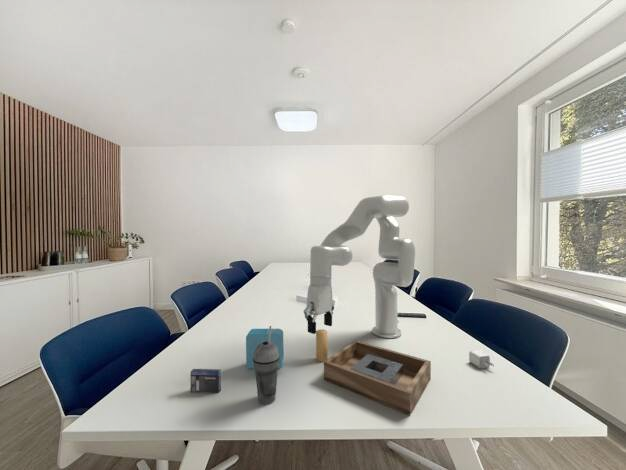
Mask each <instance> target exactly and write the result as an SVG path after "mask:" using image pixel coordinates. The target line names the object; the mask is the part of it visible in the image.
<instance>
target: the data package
mask: <svg viewBox="0 0 626 470" xmlns="http://www.w3.org/2000/svg"><path fill="white" fill-rule="evenodd" d="M268 336H269V328H252V329H250V330H249V331H248V333H247V334H246V336H245V354H246V355H245V361H246V362H245V364H246V367H247V368H248V369H249V370H255V367H254V361H253V356H254V351H255V349H256V348H257V346H258V345H259V344H261V343H262V342H266V341H268ZM270 342H272V343H274V344H275V345H276V346H277V348H278V351H279V355H280V358H279V364H278V370H279V369H280V368H282V366H283V362H284V357H285V355H284V349H285V348H284V331H283V329H281V328H271V335H270Z"/></svg>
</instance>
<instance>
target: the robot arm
mask: <svg viewBox="0 0 626 470" xmlns="http://www.w3.org/2000/svg"><path fill="white" fill-rule="evenodd" d="M409 204H410V203H409V201H408V200H407V199H406V197H404V196H401V195H400V196H399V195H377V196H369V197H365V198H363V199H361V200H360V201H359V202H358V203H357V205H356V207H355V208H354V209H353V211H352V212H351V214H350V215H349V216H348V217H347V219H346V221H344V222H343V223H342V224H341V225H339V226H338V227H336V228H335V229H333V230H332V231H331V232H330V233H329V234H327V236H325V238H324V240H323V241H322V242H321V244H320V245H313V246H312V247H311V248H310V258H309V259H310V260H309V261H310V269H309V271H310V274H309V275H310V276H309V277H310V278H309V282H310V283H309V285H308V289H307V295H306V296H307V297H306V306H305V308H304V309H303V314H304V318H305V320H306V321H307V333H309V334H313V335H316V331H317V321H316V319H317V317H318V316H320V315H323V324H324V326H328V327H332V326H333V315H334V309H335V304H336V300H334V299H333V287H332V266H337V267H338V266H339V267H344V266H347V265H349V264H350V263H351V261H352V259H353V252H352V250H351V249H350V248H349V247H348V246H346V245H343V244H344V243H346V242H348V241H351V240H354V239H357V238H358V237H361V236H363V235H364V234H365V233H366V231H367V230H368V227H369V226H370V225H371V223H372V222H373V220H374V219H375V220H376V221H377V223H378V225H379V240H378V250H377V251H378V255H379V257H380V258H381V259H385V260H390V261H391V260H392V261H398V263H395V262H387V261H382V262H381V261H380V262H378V263H376V264H375V265H374V267H373V269H372V277H373V282H374V290H375V291H374V292H375V293H374V294H375V299H374V300H375V301H374V303H375V305H374V306H375V309H374V310H375V326H373V327H372V329H371V332H372V334H373V335H375V336H376V337H379V338H380V337H381V338H383V339H384V338H385V339H394V338H398V337H401V336H402V331H401V329H399V328H398V326H399V325H398V324H399V320H398V291H397V288H396V286H397V287H403V288H407V287H409V286H410V285H411V284H412V283H413V280H414V273H415V263H416V262H415V259H416V247H415V244H414V242H413V241H412V240H411V239H408V238H400V224H399V223H398V221H397V220H396V218H400V217H404V216H406V215H407V214H408V212H409V208H410V205H409Z"/></svg>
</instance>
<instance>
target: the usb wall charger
mask: <svg viewBox="0 0 626 470" xmlns="http://www.w3.org/2000/svg"><path fill="white" fill-rule="evenodd" d="M468 357H469V359H468V361H469V362H470V364H473V365H474V366H475V367H477V368H479V369H487V368H488V369H489V368H490V366H491V367H493V368H494V367H495V364H493V363H492V362H491V357H490V355H488V354H486V353H484V352H482V351H480V350H478V349H475V350H470V351H469V353H468Z"/></svg>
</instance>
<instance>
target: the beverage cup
mask: <svg viewBox="0 0 626 470" xmlns="http://www.w3.org/2000/svg"><path fill="white" fill-rule="evenodd" d="M268 329H269V336H268V341H266V342H262V343H261V344H259V345H258V346H257V348H256V349H255V351H254V356H253V361H254V367H255V369H254V370H255V372H254V373H255V381H256V382H255V383H256V390H257V393H256V394H257V397H258V403H259V404H260V405H263V406H268V405H271V404H273V403H274V402H275V401H276V395H277V385H278V372H279V369H278V364H279V358H280V355H279V351H278V348H277V346H276V345H275V344H274V343H272V342H270V335H271V329H272V325H270V326H269V328H268Z"/></svg>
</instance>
